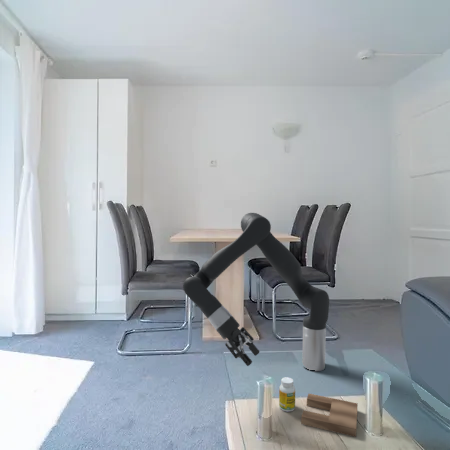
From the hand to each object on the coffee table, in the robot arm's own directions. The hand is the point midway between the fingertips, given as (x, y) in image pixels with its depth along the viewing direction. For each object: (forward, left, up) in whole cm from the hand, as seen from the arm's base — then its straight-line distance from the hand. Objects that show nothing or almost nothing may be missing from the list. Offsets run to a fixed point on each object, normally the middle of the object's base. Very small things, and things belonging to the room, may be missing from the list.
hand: (254, 358), depth 123 cm
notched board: (0, +26, -15) cm, 30 cm away
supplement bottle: (0, +12, -15) cm, 19 cm away
